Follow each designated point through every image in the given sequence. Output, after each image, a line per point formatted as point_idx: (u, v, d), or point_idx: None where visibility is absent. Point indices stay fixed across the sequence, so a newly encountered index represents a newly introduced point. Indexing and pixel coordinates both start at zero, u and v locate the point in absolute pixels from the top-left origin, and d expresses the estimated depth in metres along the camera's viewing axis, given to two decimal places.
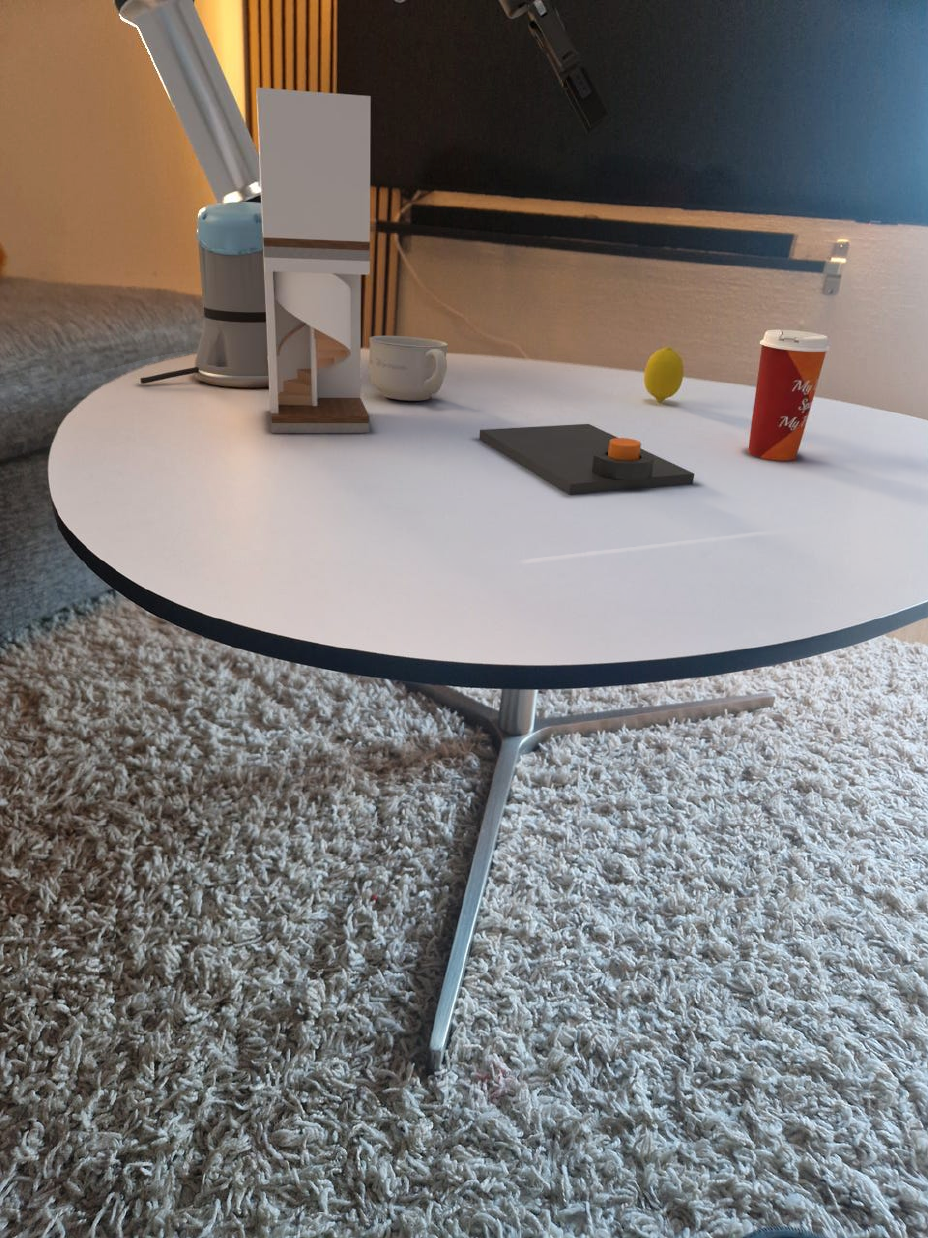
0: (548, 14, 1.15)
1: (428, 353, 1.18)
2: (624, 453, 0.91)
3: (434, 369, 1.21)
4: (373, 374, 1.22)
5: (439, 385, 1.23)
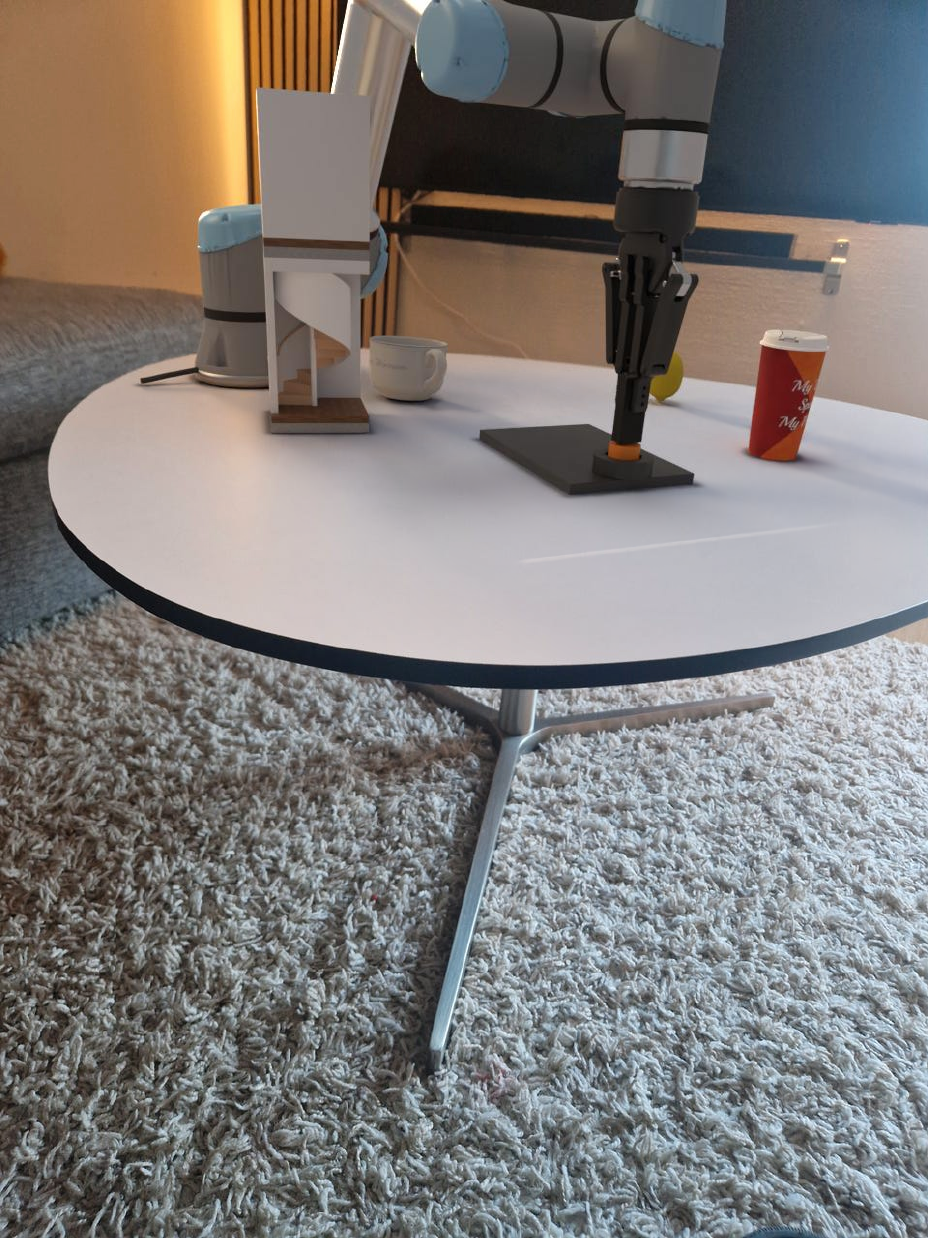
0: (680, 303, 0.82)
1: (428, 353, 1.18)
2: (624, 455, 0.91)
3: (434, 369, 1.21)
4: (373, 374, 1.22)
5: (439, 385, 1.23)
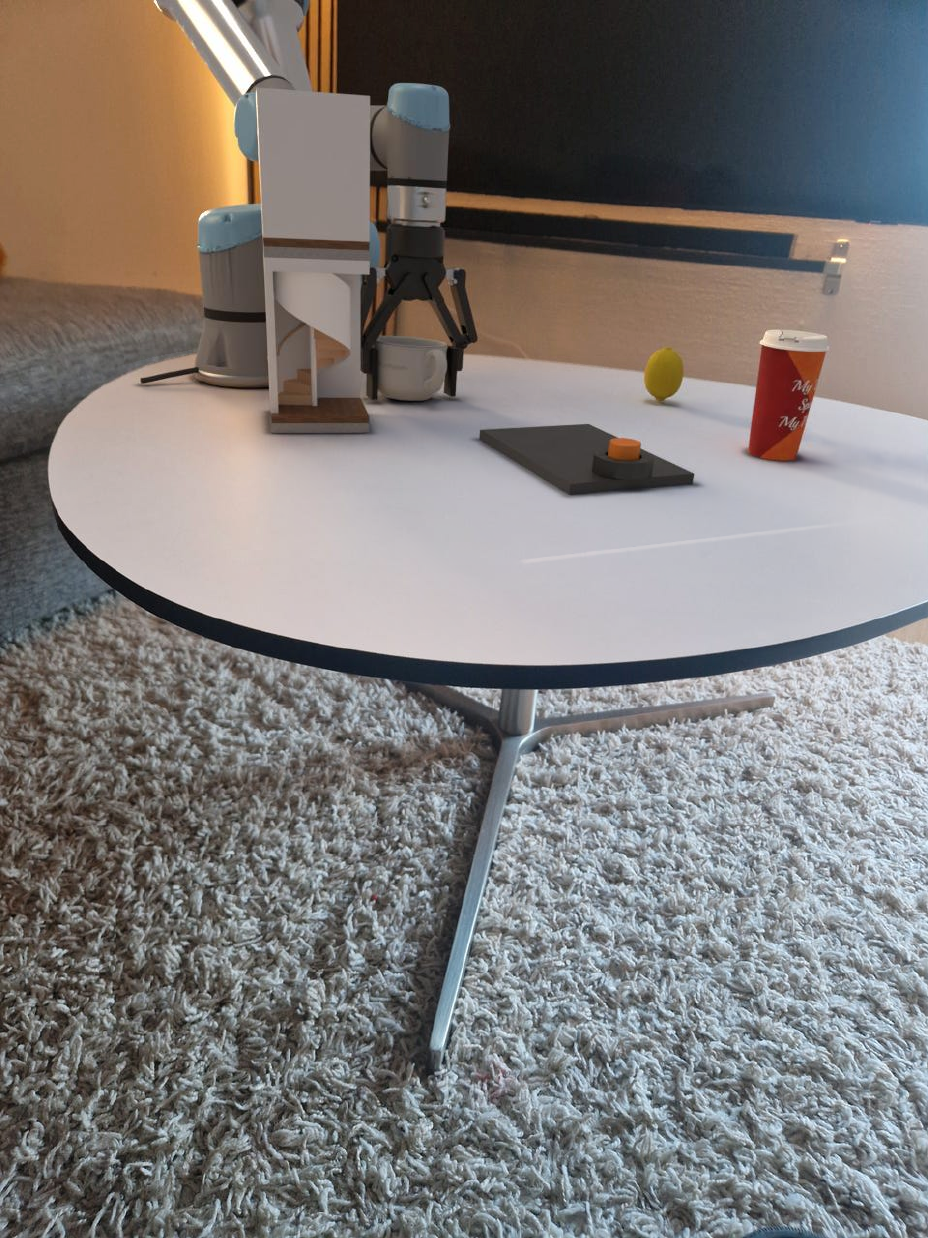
0: (365, 287, 1.15)
1: (428, 353, 1.18)
2: (624, 453, 0.91)
3: (434, 369, 1.21)
4: None
5: (439, 385, 1.23)
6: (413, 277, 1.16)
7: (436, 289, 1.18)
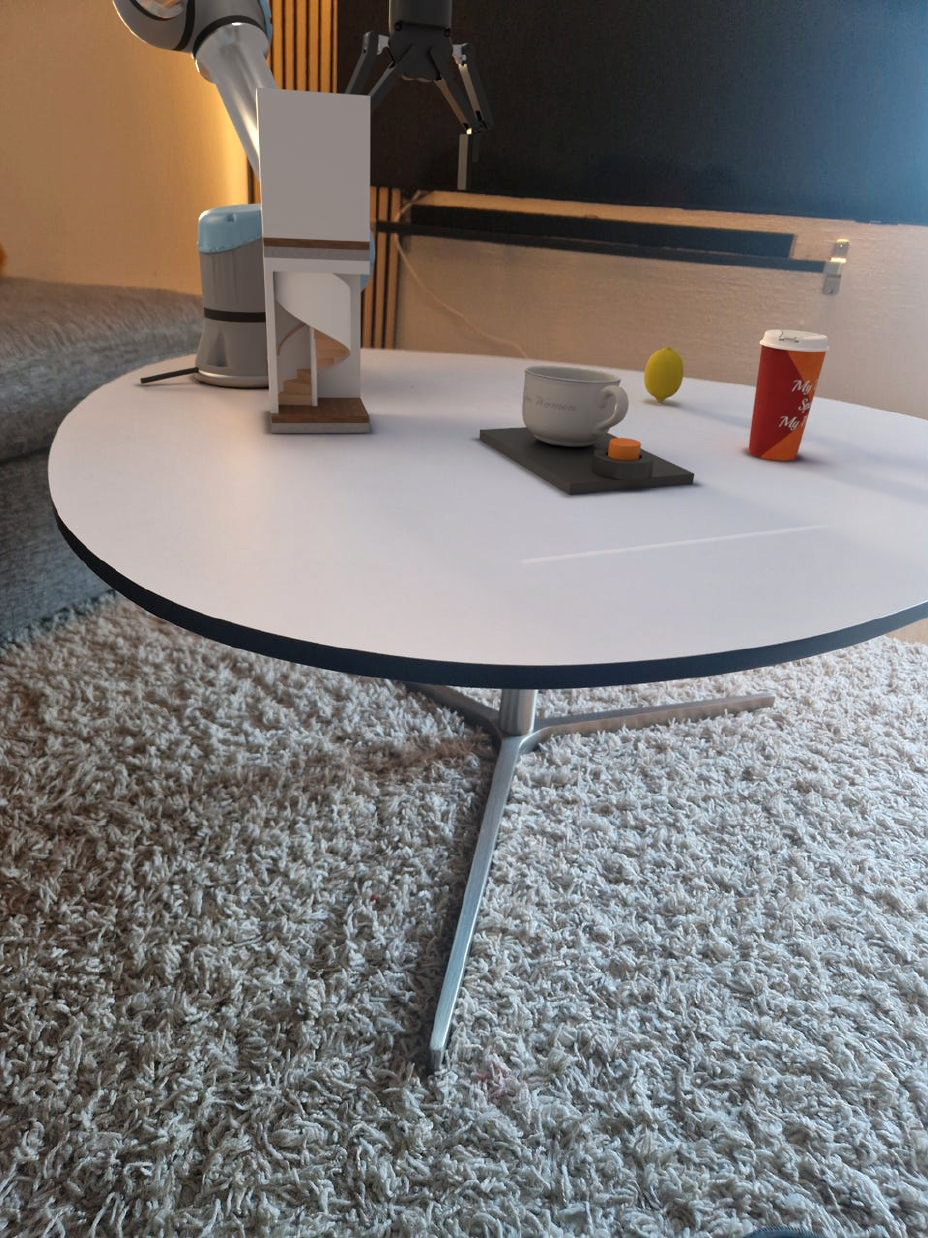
0: (364, 54, 1.07)
1: (604, 390, 0.96)
2: (624, 453, 0.91)
3: (607, 409, 0.98)
4: (531, 415, 0.99)
5: (609, 427, 1.01)
6: (418, 49, 1.08)
7: (443, 66, 1.10)
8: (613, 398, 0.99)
